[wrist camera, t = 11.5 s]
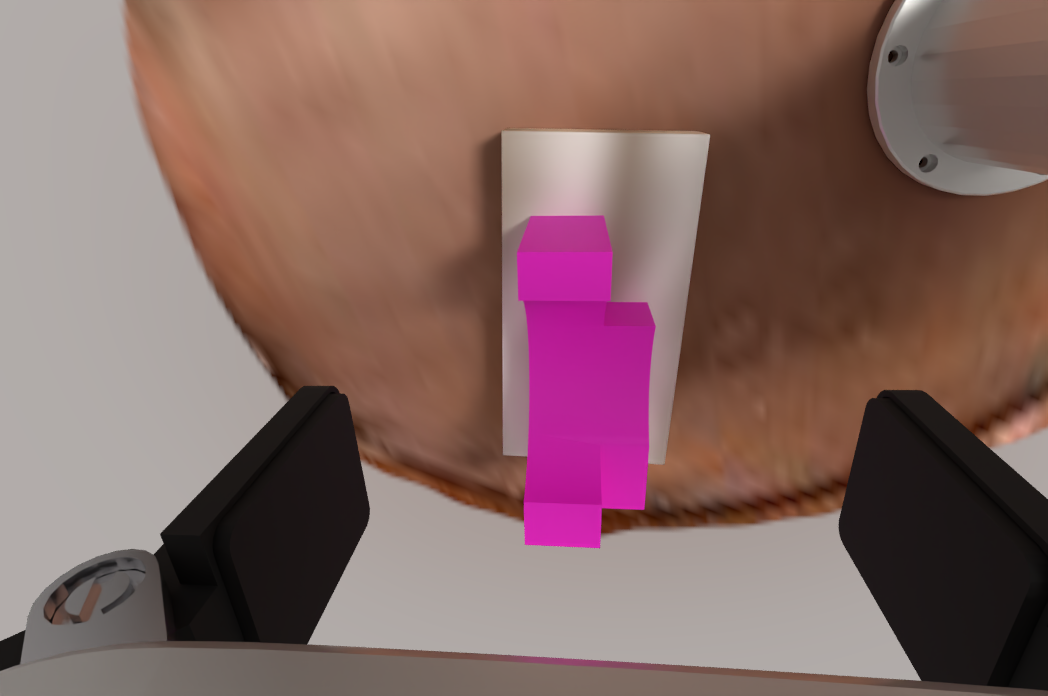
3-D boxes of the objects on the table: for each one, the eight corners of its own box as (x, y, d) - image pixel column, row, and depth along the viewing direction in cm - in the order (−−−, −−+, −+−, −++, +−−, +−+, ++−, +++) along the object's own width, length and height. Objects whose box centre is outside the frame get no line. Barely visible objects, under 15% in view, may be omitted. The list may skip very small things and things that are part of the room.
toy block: (635, 460, 34) (650, 550, 28) (534, 457, 35) (524, 544, 28) (653, 215, 28) (678, 252, 22) (530, 215, 29) (516, 252, 22)
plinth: (697, 131, 29) (710, 134, 27) (657, 437, 37) (664, 464, 34) (508, 127, 30) (501, 130, 27) (508, 429, 38) (502, 455, 35)
